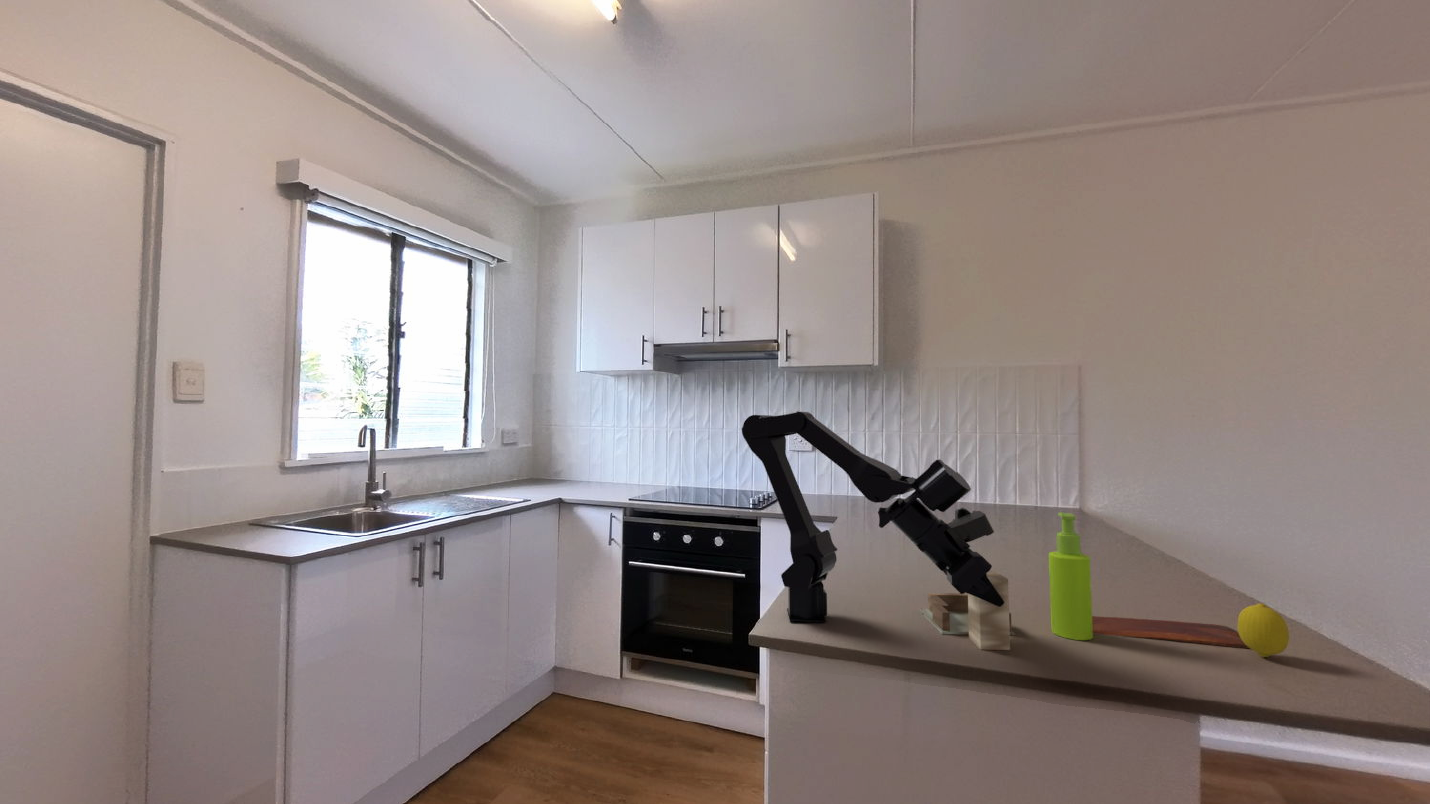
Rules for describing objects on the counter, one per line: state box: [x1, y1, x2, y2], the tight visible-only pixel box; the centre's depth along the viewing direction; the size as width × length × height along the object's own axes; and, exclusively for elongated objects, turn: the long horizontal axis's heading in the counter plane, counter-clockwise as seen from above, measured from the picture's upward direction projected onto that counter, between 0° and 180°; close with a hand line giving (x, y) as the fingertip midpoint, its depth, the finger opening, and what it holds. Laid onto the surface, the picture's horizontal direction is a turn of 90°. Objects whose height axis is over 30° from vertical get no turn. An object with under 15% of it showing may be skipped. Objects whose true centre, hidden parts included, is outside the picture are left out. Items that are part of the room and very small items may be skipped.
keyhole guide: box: [919, 592, 1016, 636], centre depth 98 cm, size 12×12×3 cm
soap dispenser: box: [1048, 511, 1094, 641], centre depth 93 cm, size 6×7×20 cm
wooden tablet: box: [1092, 615, 1250, 649], centre depth 94 cm, size 27×10×2 cm, turn 72°
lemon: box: [1237, 602, 1290, 658], centre depth 83 cm, size 6×6×8 cm
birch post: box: [967, 570, 1011, 651], centre depth 88 cm, size 4×4×11 cm
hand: (997, 599), depth 88 cm, fingers closed on birch post, 5 cm apart
